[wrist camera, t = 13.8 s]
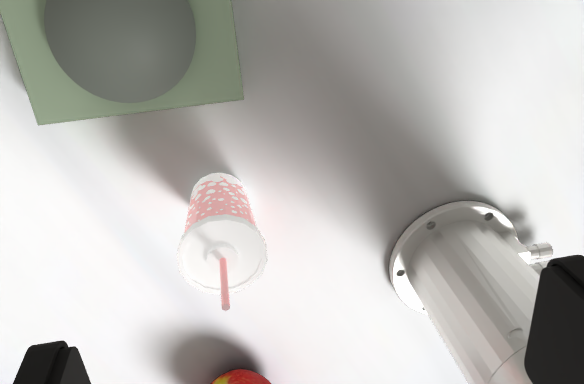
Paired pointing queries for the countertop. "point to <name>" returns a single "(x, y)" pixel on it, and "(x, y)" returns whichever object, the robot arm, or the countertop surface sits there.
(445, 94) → the countertop surface
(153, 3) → the green domed square base
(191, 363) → the countertop surface
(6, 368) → the countertop surface
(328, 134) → the countertop surface
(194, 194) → the beverage cup
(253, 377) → the apple
